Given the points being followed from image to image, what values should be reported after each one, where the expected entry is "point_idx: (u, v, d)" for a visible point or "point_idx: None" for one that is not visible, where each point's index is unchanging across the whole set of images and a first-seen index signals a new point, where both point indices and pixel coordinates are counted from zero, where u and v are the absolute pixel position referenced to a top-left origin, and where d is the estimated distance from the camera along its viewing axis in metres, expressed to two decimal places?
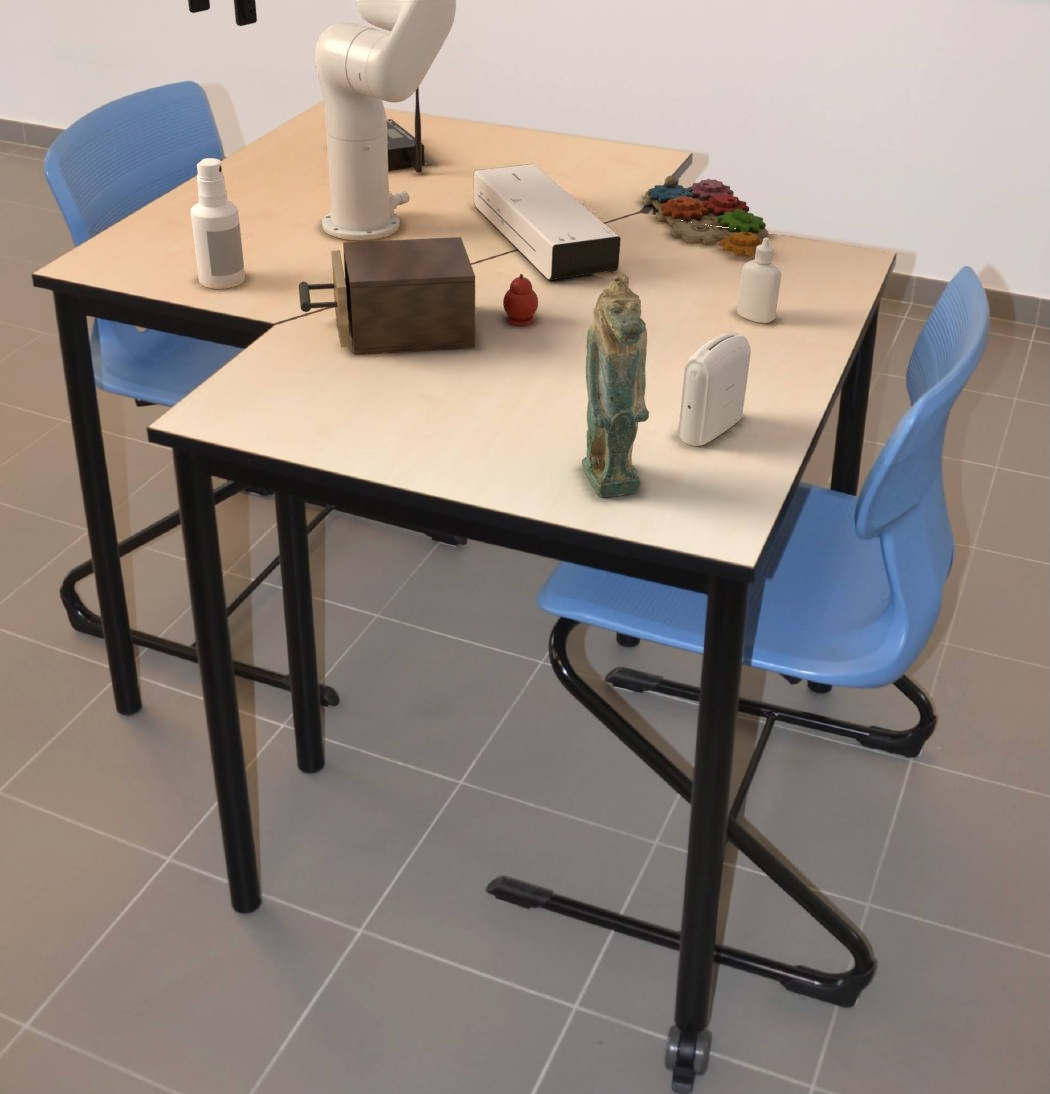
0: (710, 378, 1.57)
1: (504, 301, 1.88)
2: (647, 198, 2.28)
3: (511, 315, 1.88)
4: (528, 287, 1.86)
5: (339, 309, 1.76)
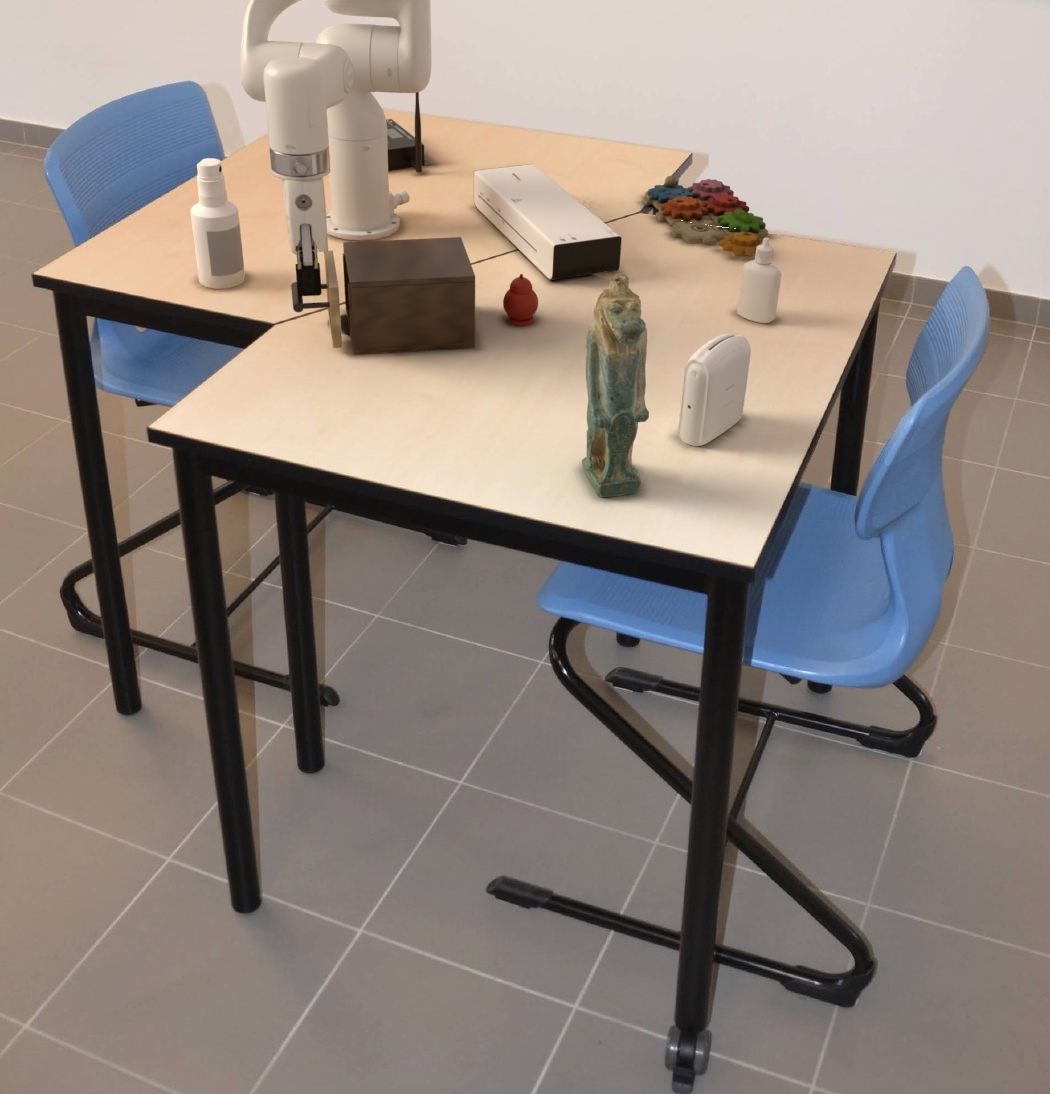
0: (710, 378, 1.57)
1: (504, 301, 1.88)
2: (647, 198, 2.28)
3: (511, 315, 1.88)
4: (528, 287, 1.86)
5: (331, 309, 1.76)
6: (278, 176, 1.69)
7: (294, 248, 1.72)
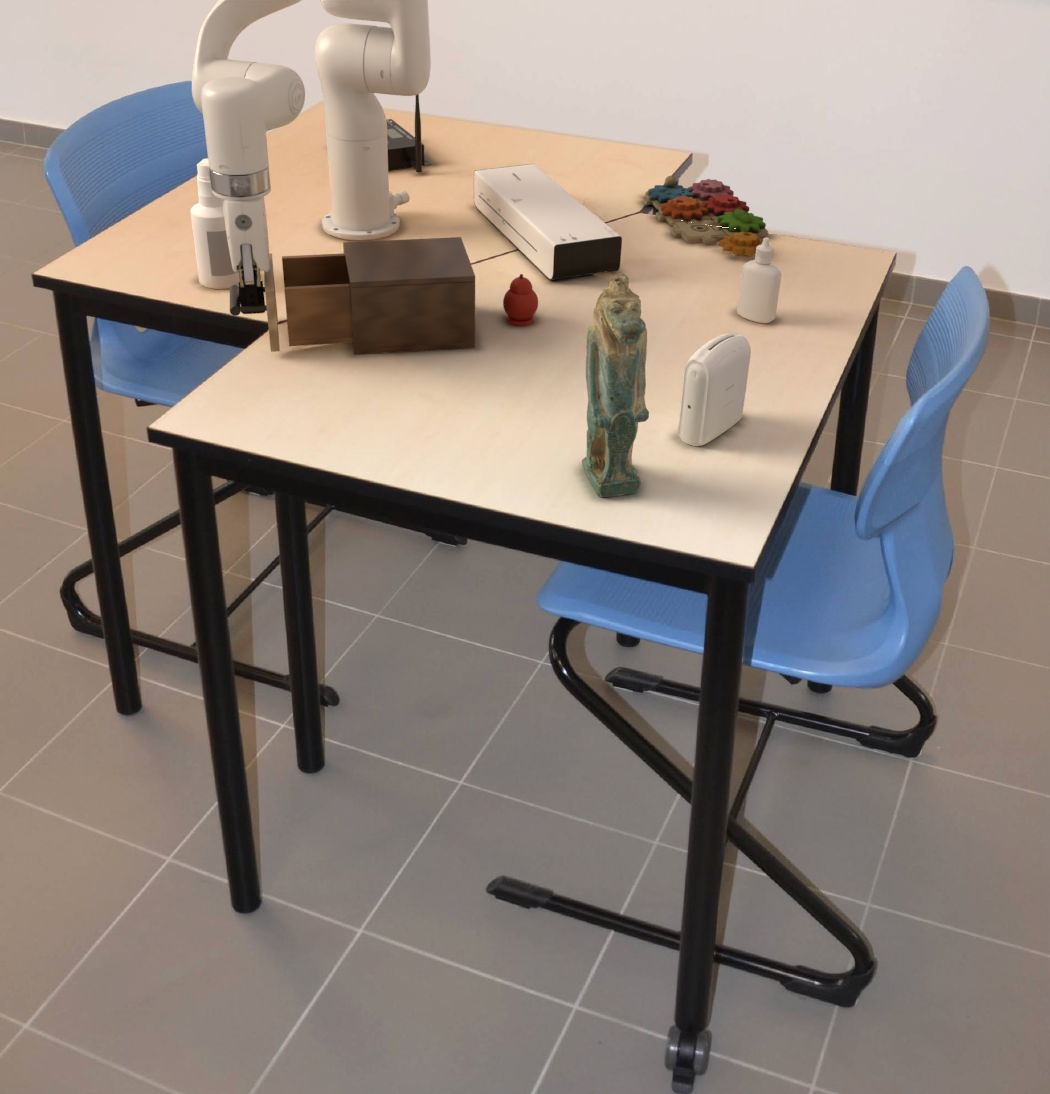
0: (710, 378, 1.57)
1: (504, 301, 1.88)
2: (647, 198, 2.28)
3: (511, 315, 1.88)
4: (528, 287, 1.86)
5: (268, 313, 1.75)
6: (218, 196, 1.69)
7: (235, 267, 1.72)
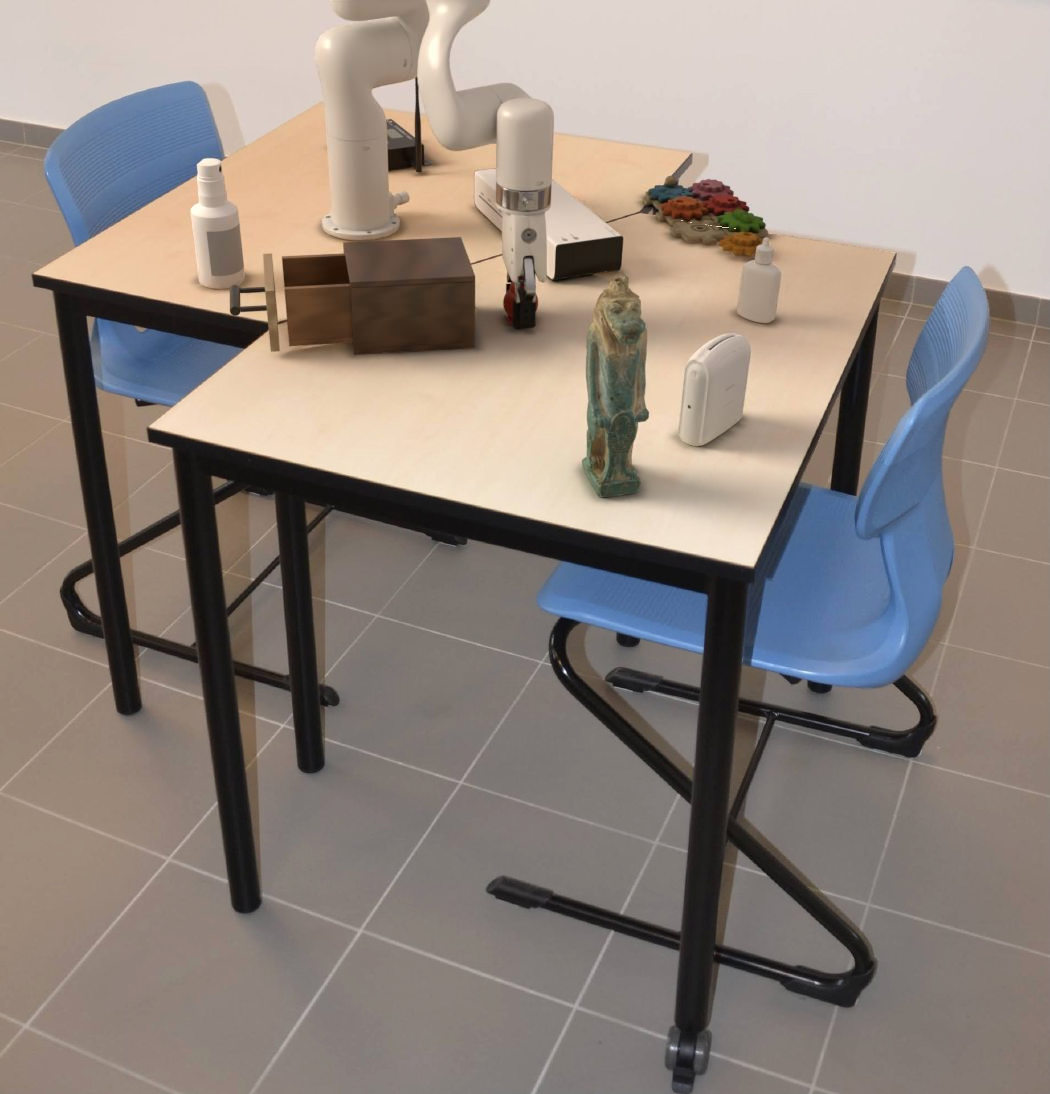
0: (710, 378, 1.57)
1: (504, 301, 1.88)
2: (647, 198, 2.28)
3: (511, 315, 1.88)
4: None
5: (268, 313, 1.75)
6: (505, 210, 1.78)
7: (516, 278, 1.81)
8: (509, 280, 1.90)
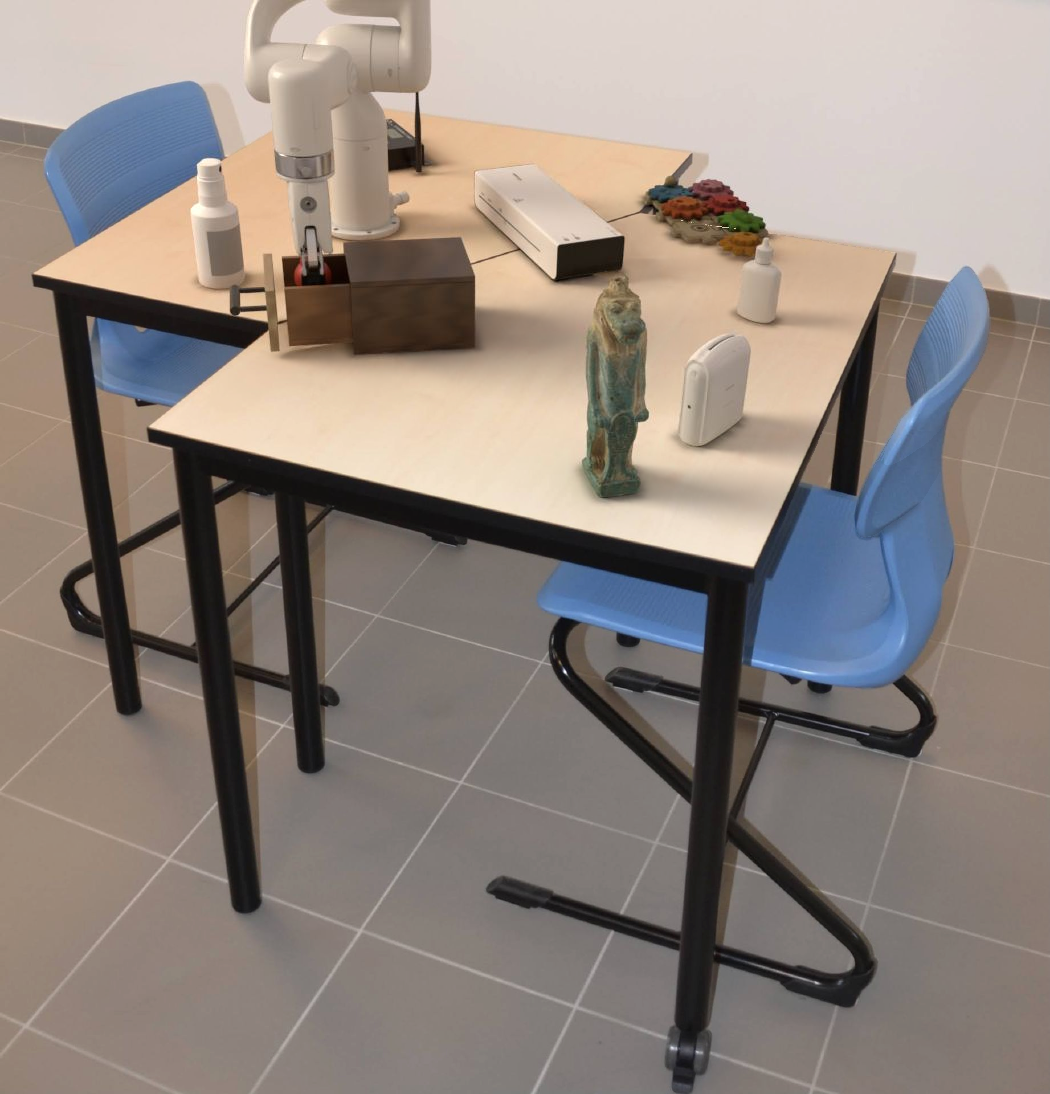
0: (710, 378, 1.57)
1: (294, 275, 1.79)
2: (647, 198, 2.28)
3: None
4: (318, 260, 1.77)
5: (268, 313, 1.75)
6: (283, 178, 1.69)
7: (299, 249, 1.72)
8: None
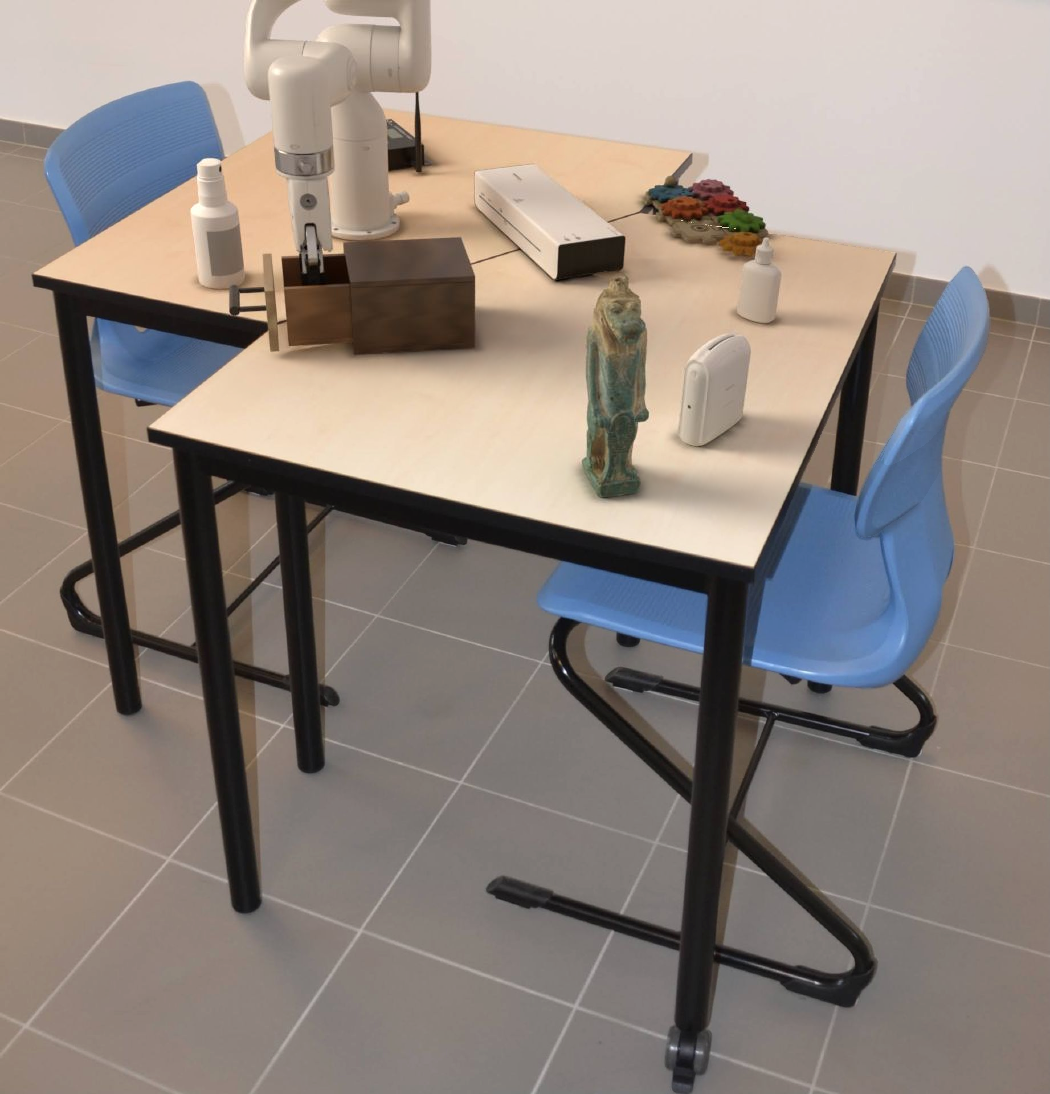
0: (710, 378, 1.57)
1: None
2: (647, 198, 2.28)
3: None
4: None
5: (267, 313, 1.75)
6: (283, 175, 1.69)
7: (299, 247, 1.72)
8: None
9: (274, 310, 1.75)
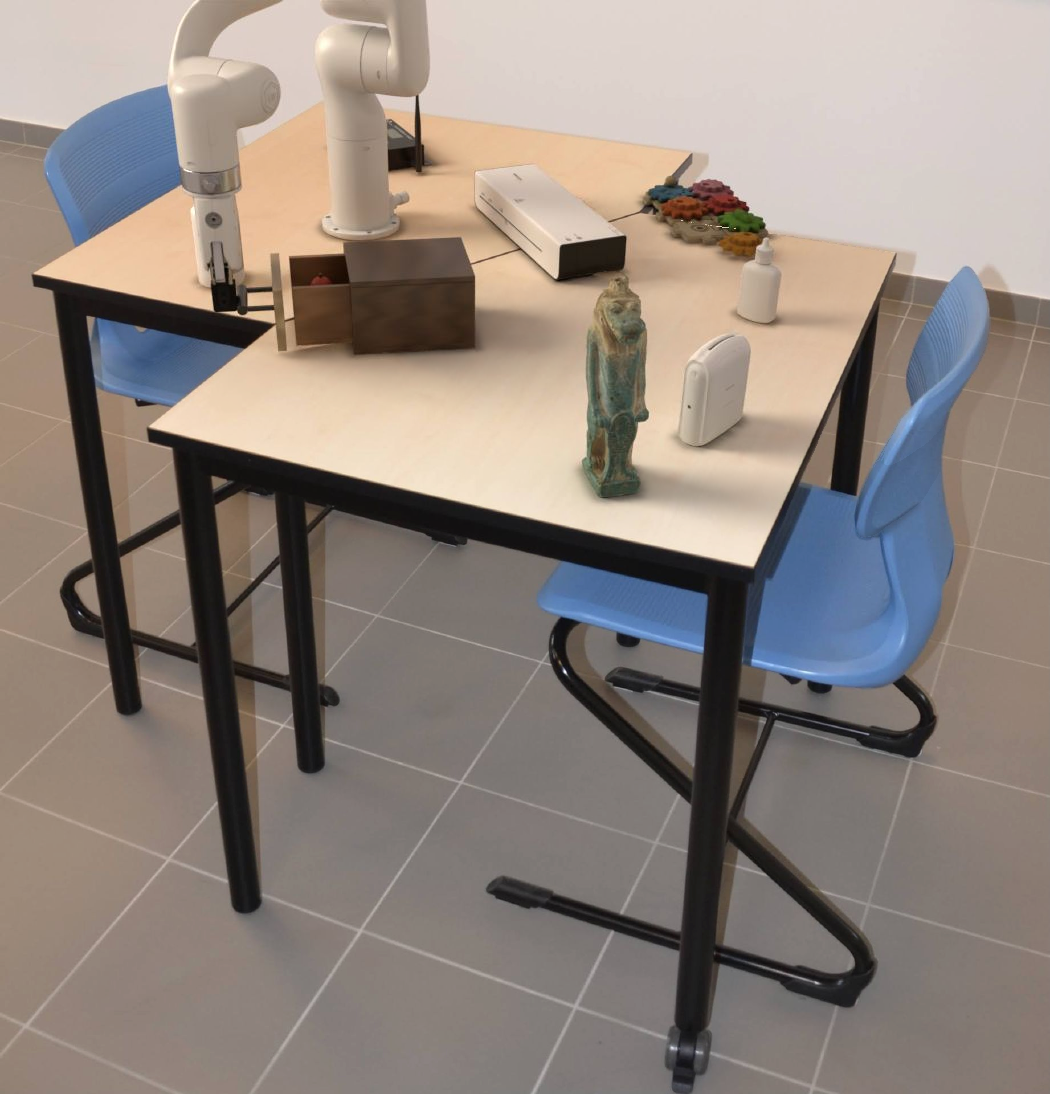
0: (710, 378, 1.57)
1: None
2: (647, 198, 2.28)
3: None
4: None
5: (275, 312, 1.75)
6: (188, 193, 1.68)
7: (206, 265, 1.71)
8: None
9: (282, 310, 1.75)
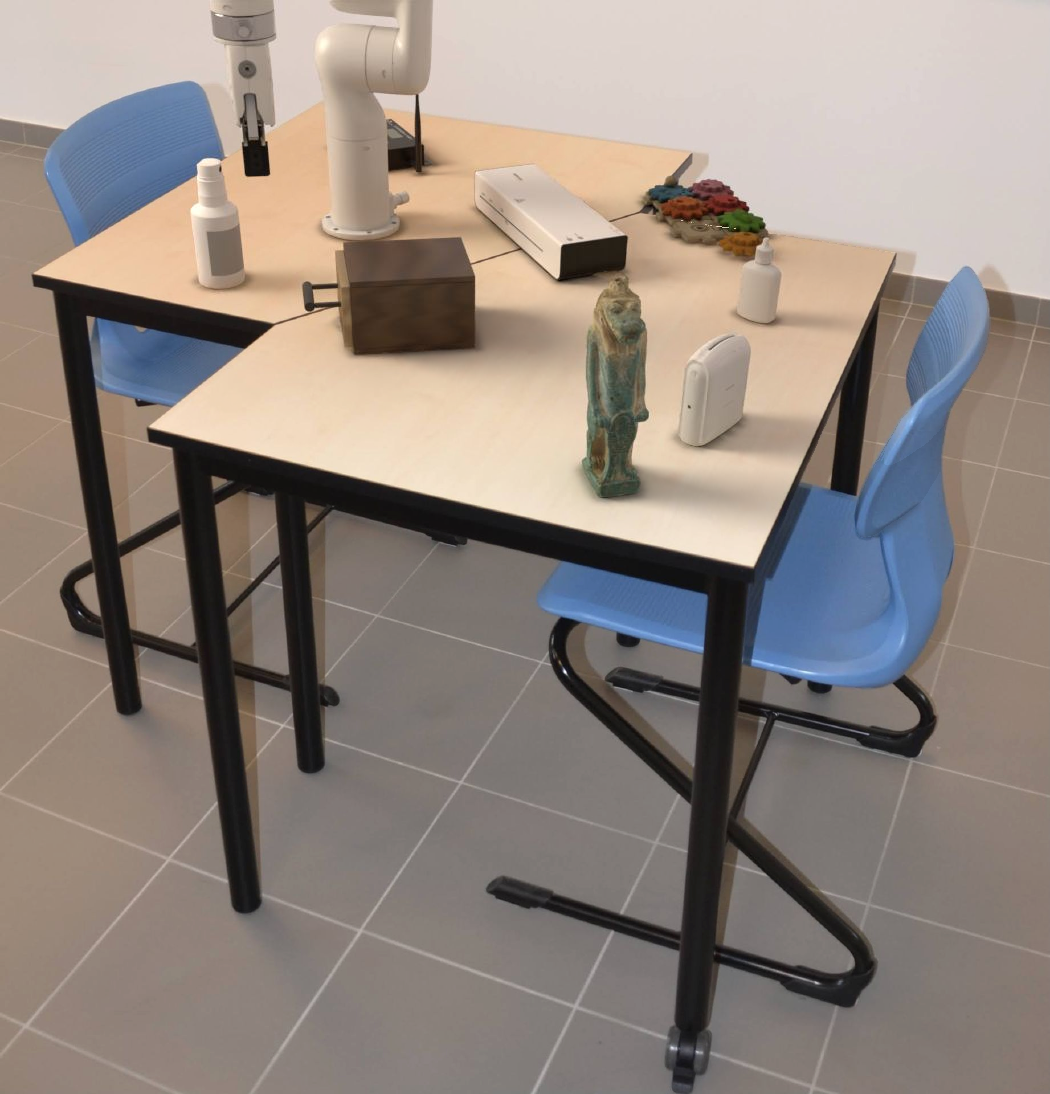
0: (710, 378, 1.57)
1: None
2: (647, 198, 2.28)
3: None
4: None
5: (343, 309, 1.77)
6: (220, 41, 1.58)
7: (238, 120, 1.61)
8: None
9: (350, 306, 1.76)
